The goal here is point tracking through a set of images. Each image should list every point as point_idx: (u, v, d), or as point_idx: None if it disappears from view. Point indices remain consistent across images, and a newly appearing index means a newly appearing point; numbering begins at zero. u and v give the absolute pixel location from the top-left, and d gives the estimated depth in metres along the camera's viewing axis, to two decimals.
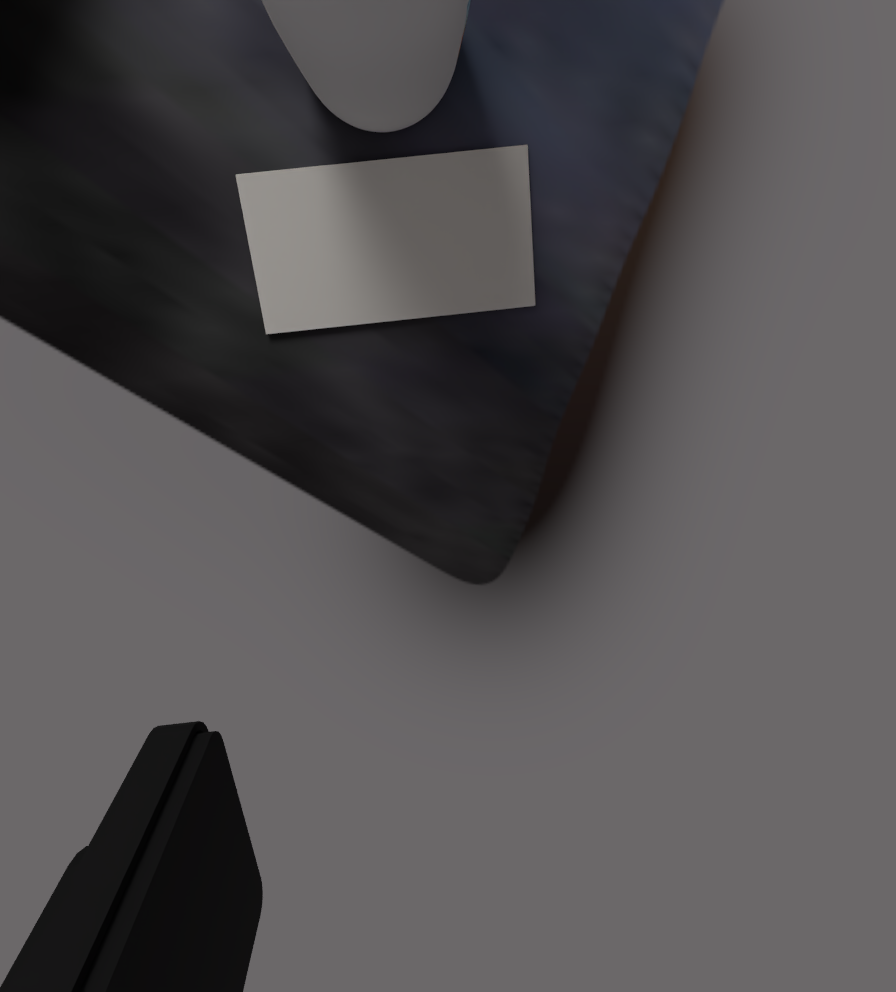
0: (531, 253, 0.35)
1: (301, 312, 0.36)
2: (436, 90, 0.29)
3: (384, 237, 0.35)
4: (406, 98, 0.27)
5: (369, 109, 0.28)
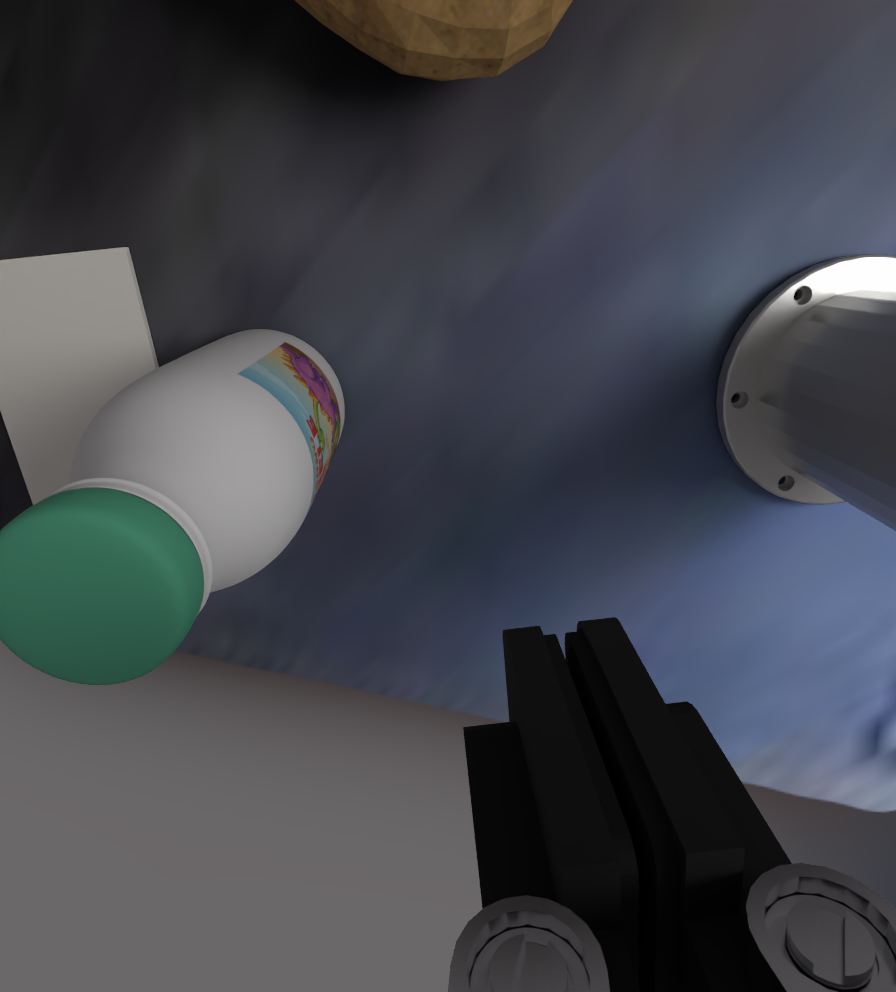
0: None
1: None
2: None
3: (89, 408, 0.32)
4: None
5: None
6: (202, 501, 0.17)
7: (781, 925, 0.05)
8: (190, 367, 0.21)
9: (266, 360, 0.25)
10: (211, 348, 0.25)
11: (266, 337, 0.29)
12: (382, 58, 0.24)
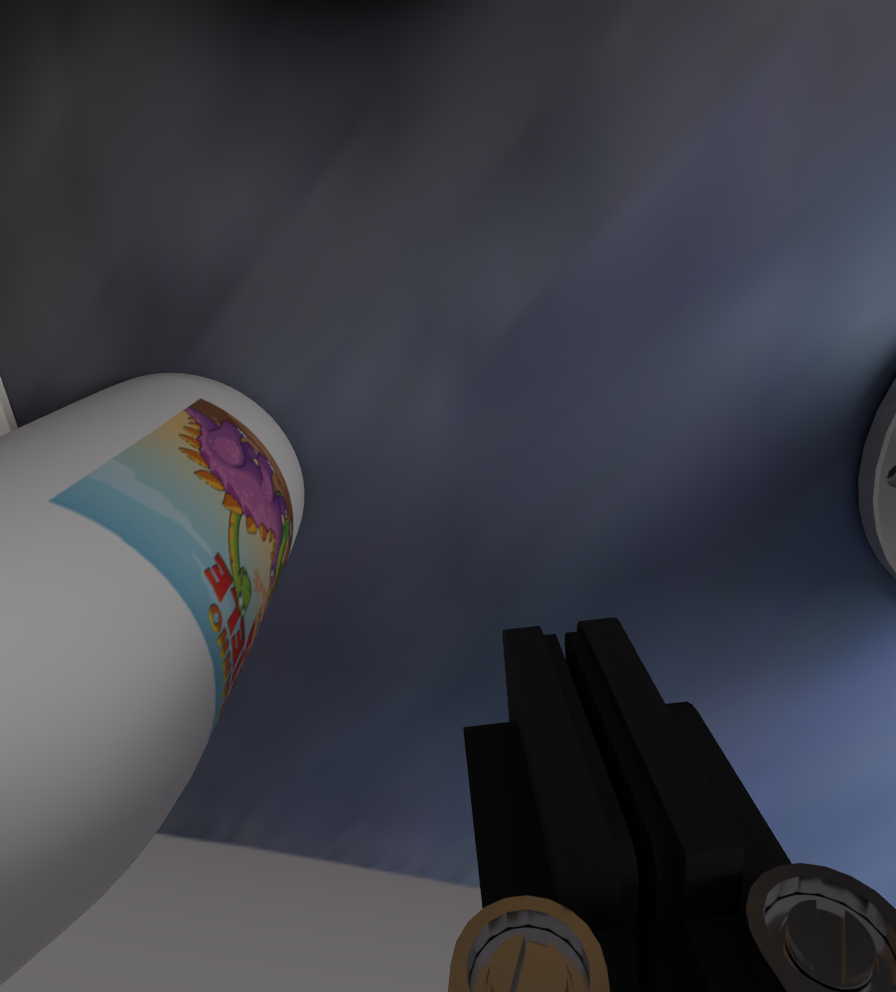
0: None
1: None
2: None
3: None
4: None
5: None
6: None
7: (781, 925, 0.05)
8: None
9: (141, 448, 0.14)
10: (42, 427, 0.14)
11: (167, 392, 0.18)
12: None
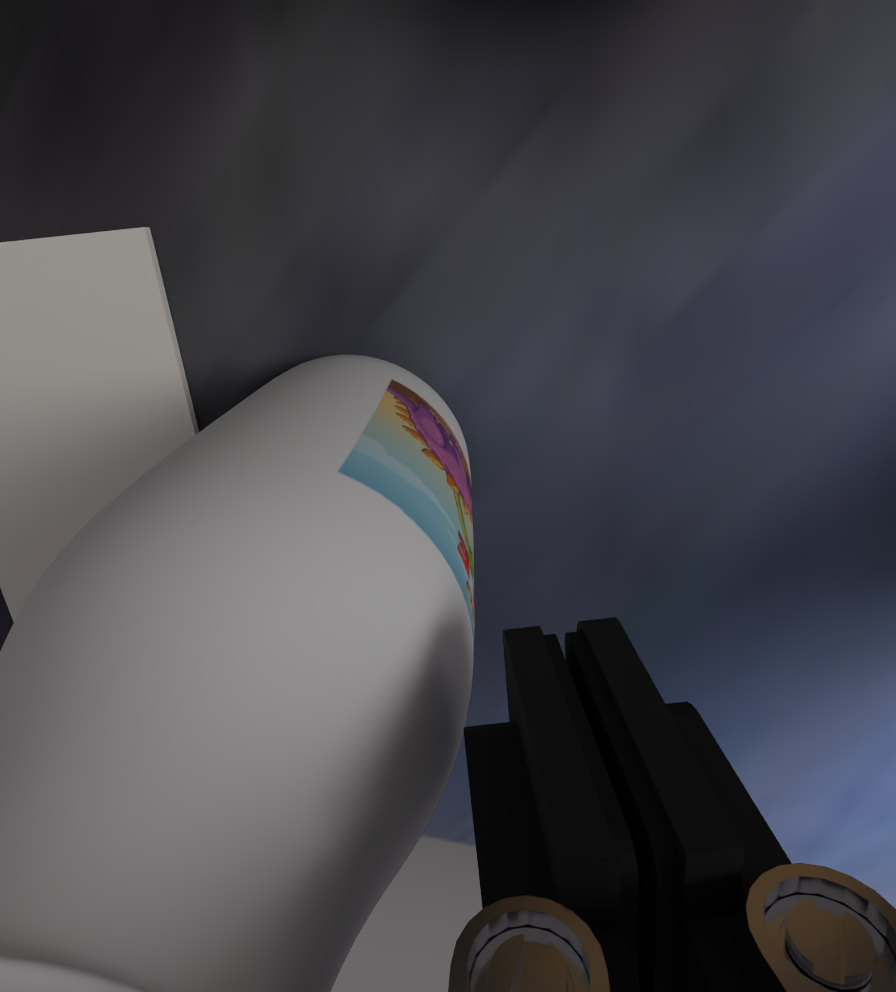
0: None
1: None
2: None
3: (90, 471, 0.22)
4: None
5: None
6: (277, 900, 0.06)
7: (781, 925, 0.05)
8: (245, 461, 0.10)
9: (377, 425, 0.14)
10: (280, 402, 0.14)
11: (363, 372, 0.18)
12: None
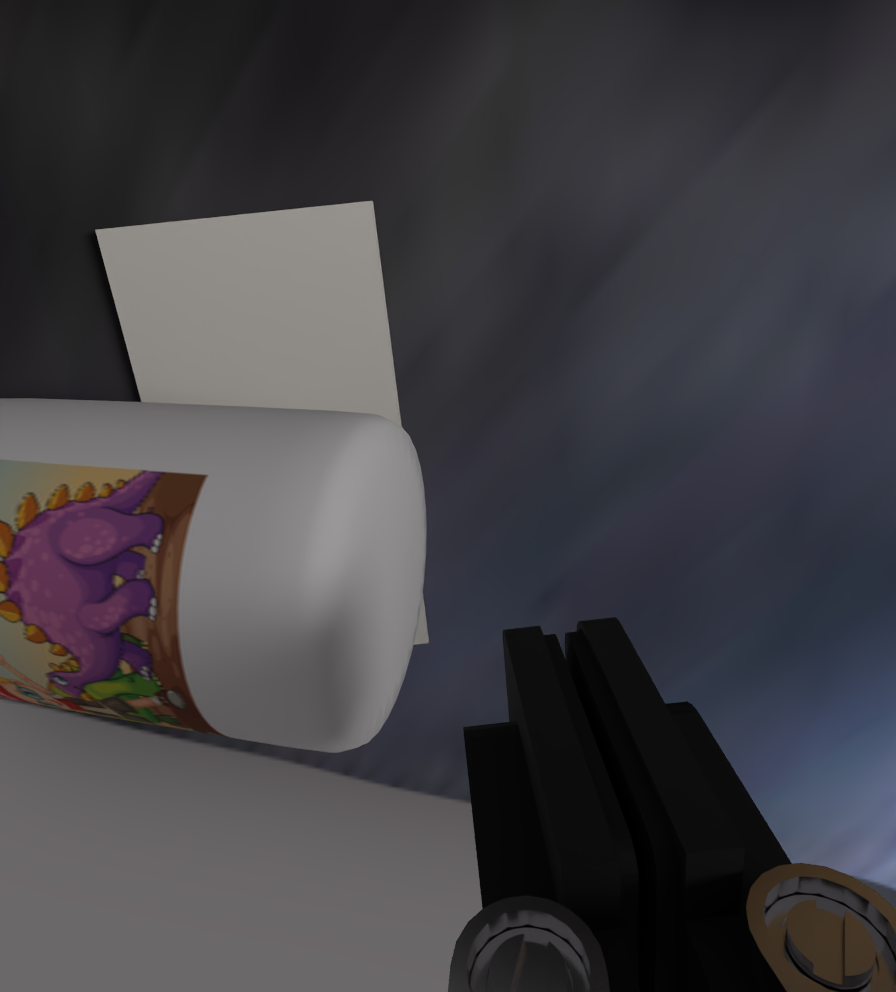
0: None
1: (147, 302, 0.20)
2: None
3: None
4: None
5: None
6: None
7: (781, 924, 0.05)
8: None
9: (4, 468, 0.14)
10: (80, 409, 0.15)
11: (207, 445, 0.13)
12: None
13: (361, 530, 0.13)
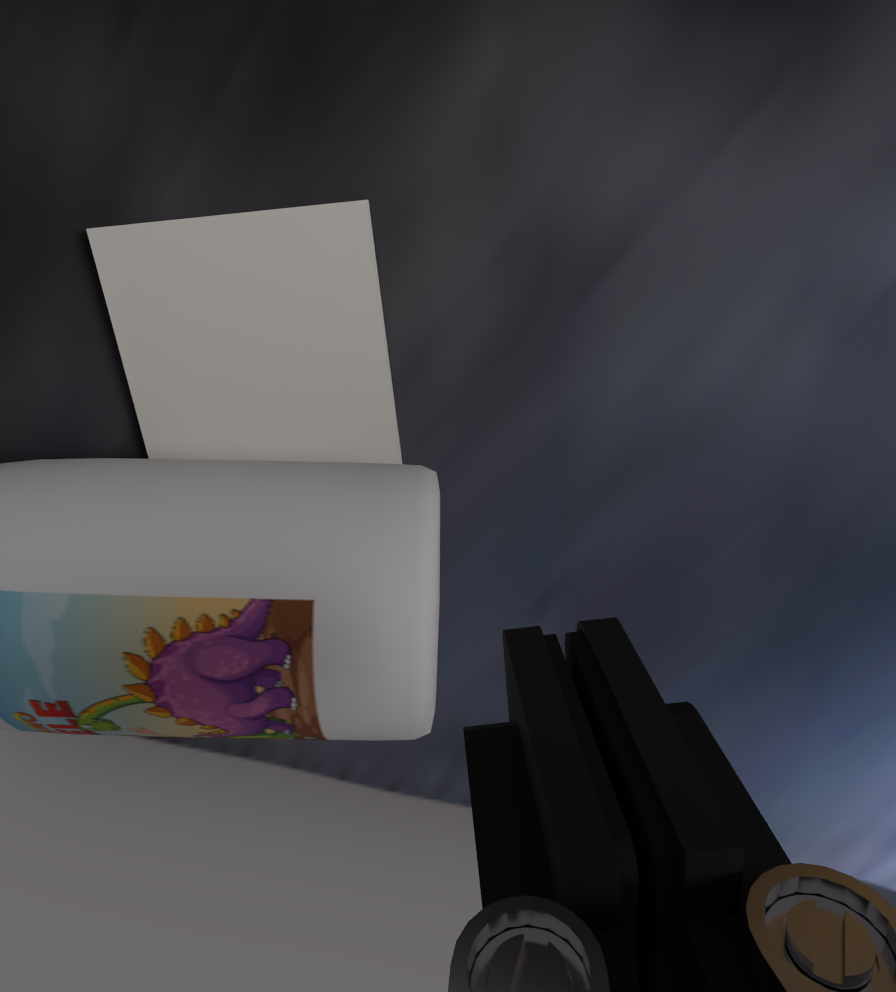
0: None
1: (140, 302, 0.19)
2: None
3: (285, 452, 0.21)
4: None
5: None
6: None
7: (781, 925, 0.05)
8: None
9: (110, 603, 0.15)
10: (141, 515, 0.16)
11: (300, 566, 0.15)
12: None
13: (437, 607, 0.16)
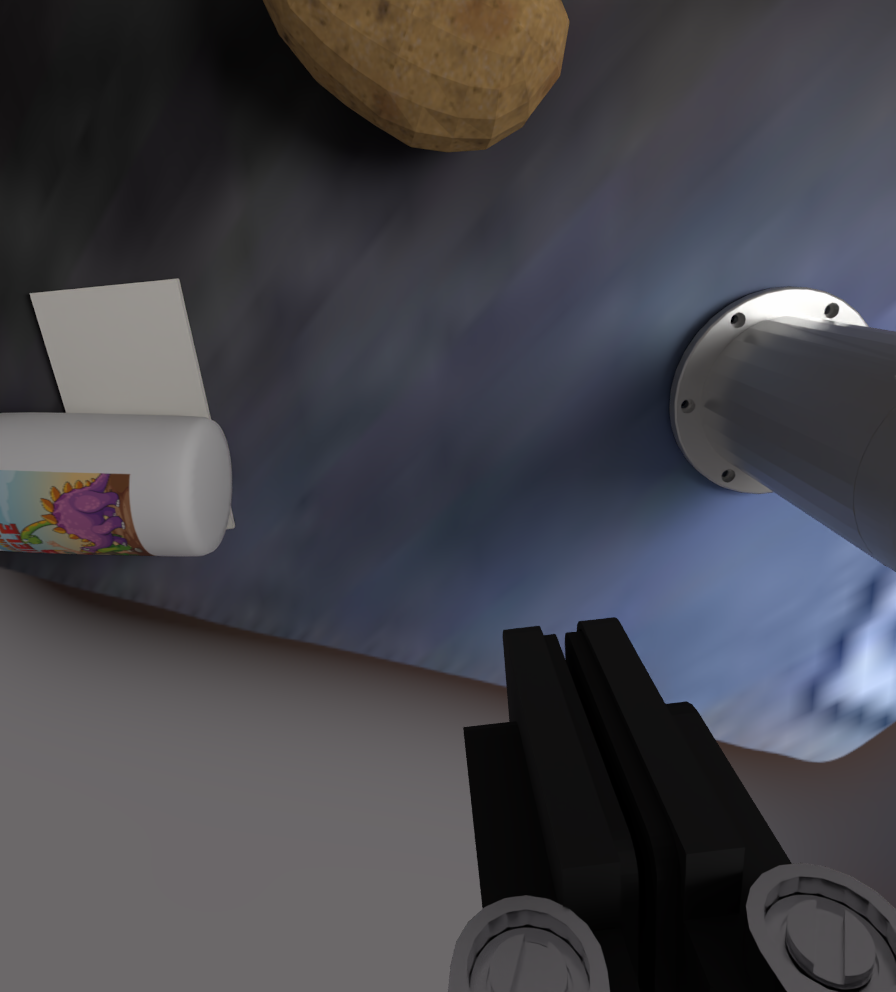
0: None
1: (59, 331, 0.37)
2: None
3: (142, 412, 0.38)
4: None
5: None
6: None
7: (781, 925, 0.05)
8: None
9: (34, 475, 0.32)
10: (51, 436, 0.33)
11: (124, 458, 0.33)
12: (394, 136, 0.31)
13: (197, 482, 0.34)
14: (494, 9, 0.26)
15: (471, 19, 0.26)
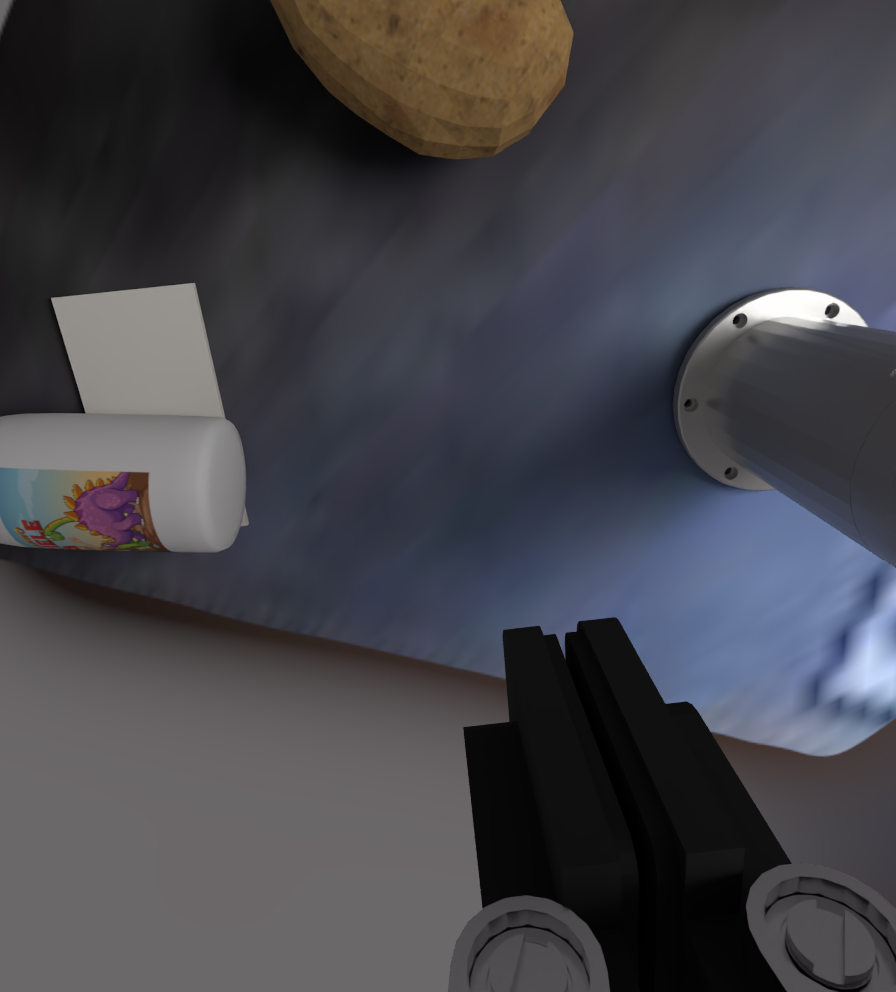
0: None
1: (79, 334, 0.38)
2: None
3: (159, 413, 0.40)
4: None
5: None
6: None
7: (781, 924, 0.05)
8: None
9: (57, 473, 0.33)
10: (73, 435, 0.34)
11: (144, 457, 0.34)
12: (404, 144, 0.32)
13: (213, 480, 0.35)
14: (501, 22, 0.27)
15: (478, 32, 0.27)
